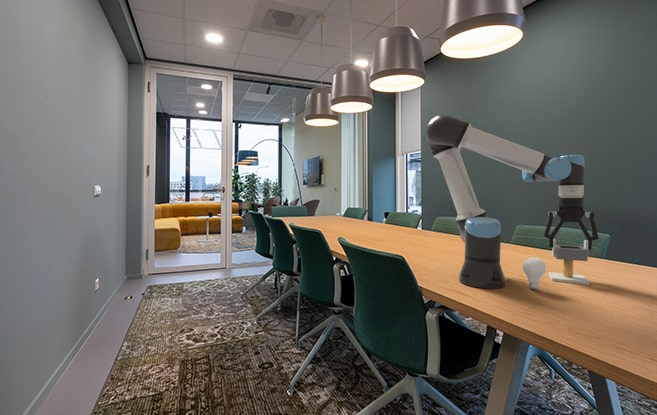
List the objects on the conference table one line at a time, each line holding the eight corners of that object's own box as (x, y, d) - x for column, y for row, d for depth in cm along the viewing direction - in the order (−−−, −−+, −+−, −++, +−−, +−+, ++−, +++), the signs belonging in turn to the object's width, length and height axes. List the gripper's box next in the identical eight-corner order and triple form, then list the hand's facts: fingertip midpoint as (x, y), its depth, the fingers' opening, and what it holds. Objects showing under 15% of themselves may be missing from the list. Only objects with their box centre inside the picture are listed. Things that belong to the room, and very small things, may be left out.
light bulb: (543, 288, 111) (544, 256, 111) (547, 293, 105) (548, 260, 105) (521, 285, 114) (521, 254, 114) (523, 291, 108) (524, 258, 108)
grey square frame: (556, 259, 120) (556, 248, 119) (553, 254, 128) (553, 244, 127) (587, 261, 115) (587, 250, 115) (581, 256, 123) (582, 246, 123)
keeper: (552, 280, 120) (552, 259, 120) (548, 274, 129) (549, 254, 129) (589, 284, 115) (590, 262, 115) (583, 277, 124) (583, 257, 123)
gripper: (537, 197, 122) (536, 256, 123) (611, 197, 112) (609, 261, 113) (535, 196, 129) (534, 253, 130) (605, 196, 118) (603, 257, 120)
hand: (569, 257), depth 121 cm, fingers closed on grey square frame, 9 cm apart
